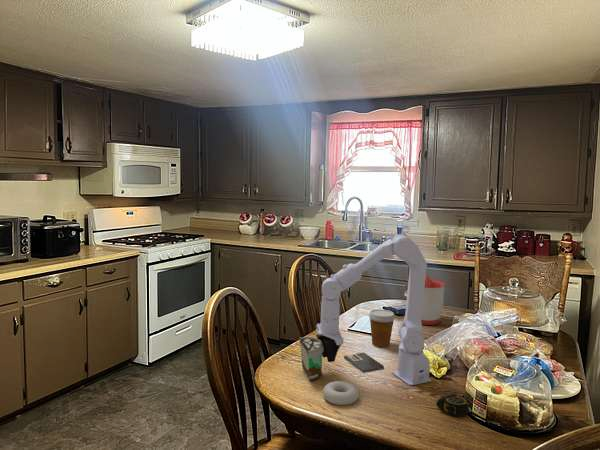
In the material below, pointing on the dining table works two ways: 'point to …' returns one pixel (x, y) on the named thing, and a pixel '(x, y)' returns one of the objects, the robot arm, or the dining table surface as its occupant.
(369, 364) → the label panel
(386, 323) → the disposable coffee cup
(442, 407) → the tape measure
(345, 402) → the donut
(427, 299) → the citrus juicer
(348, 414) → the dining table surface
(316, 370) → the food container
